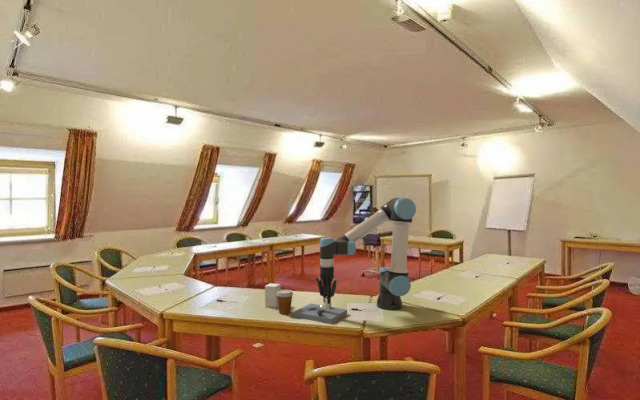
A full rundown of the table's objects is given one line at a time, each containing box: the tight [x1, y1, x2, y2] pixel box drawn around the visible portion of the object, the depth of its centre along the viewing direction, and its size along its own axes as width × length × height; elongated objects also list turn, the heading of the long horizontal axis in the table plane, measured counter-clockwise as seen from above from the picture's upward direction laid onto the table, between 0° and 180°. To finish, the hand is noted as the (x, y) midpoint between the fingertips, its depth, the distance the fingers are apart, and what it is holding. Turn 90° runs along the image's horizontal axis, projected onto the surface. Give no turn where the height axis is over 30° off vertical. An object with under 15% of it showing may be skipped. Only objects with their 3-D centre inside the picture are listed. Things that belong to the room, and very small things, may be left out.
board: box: [292, 303, 348, 325], centre depth 200 cm, size 24×18×2 cm
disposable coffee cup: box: [276, 289, 294, 315], centre depth 206 cm, size 10×10×12 cm
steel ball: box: [319, 304, 325, 311], centre depth 199 cm, size 4×4×4 cm
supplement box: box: [264, 282, 282, 309], centre depth 219 cm, size 7×7×13 cm
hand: (327, 309), depth 198 cm, fingers closed
